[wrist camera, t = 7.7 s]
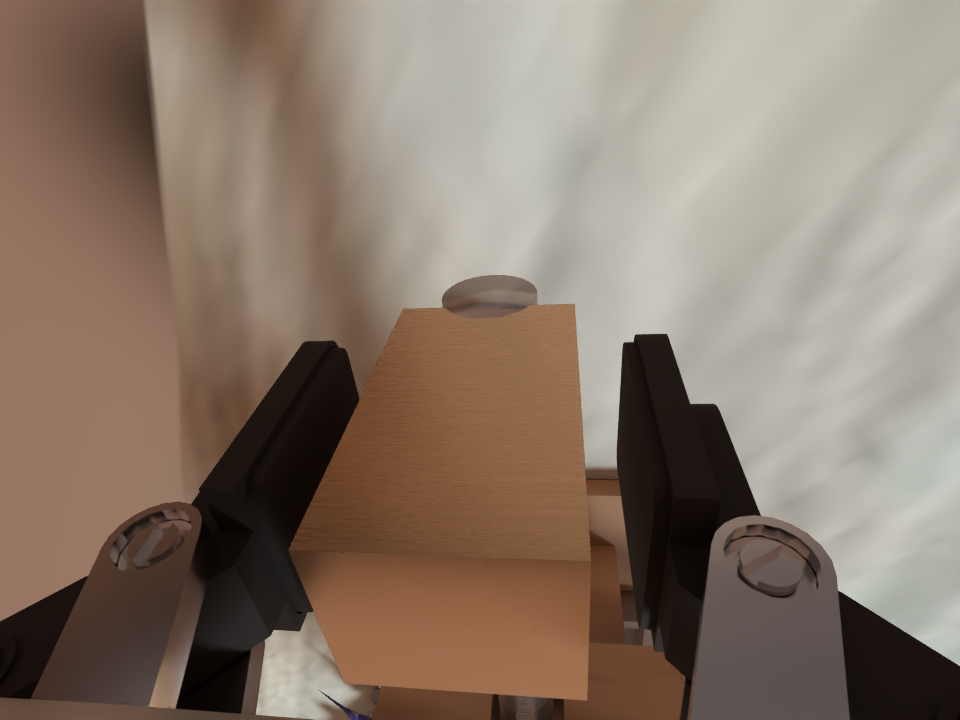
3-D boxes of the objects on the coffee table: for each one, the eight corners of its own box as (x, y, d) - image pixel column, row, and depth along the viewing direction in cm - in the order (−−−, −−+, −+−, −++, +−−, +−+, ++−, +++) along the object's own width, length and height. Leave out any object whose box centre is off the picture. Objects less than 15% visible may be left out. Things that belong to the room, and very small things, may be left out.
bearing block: (647, 591, 31) (700, 936, 20) (433, 582, 32) (370, 894, 21) (660, 480, 26) (739, 848, 15) (410, 476, 28) (314, 804, 17)
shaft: (572, 733, 24) (579, 994, 18) (491, 727, 24) (470, 979, 18) (572, 272, 12) (590, 560, 6) (417, 277, 13) (287, 550, 7)
